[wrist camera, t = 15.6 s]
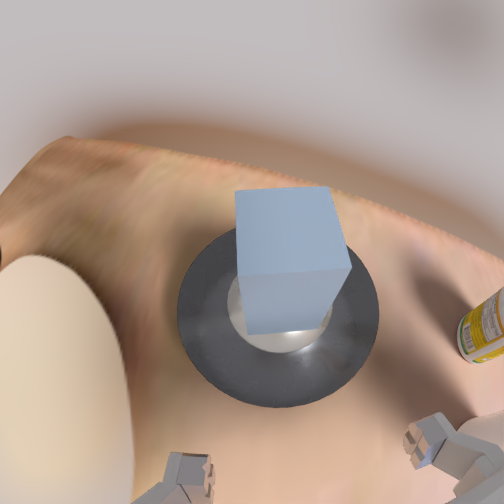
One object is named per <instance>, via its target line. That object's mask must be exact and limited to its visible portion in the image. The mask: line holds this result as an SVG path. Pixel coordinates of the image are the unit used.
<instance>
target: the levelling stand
mask: <svg viewBox="0 0 504 504" xmlns="http://www.w3.org/2000/svg"><path fill="white" fill-rule="evenodd" d="M346 246H347V245H346ZM347 250H348V254H349V258H350V261H351V265H352V269H351V270H350V272H349V274H348V276H347V278H346V280H345V282H344V283H343V285H342V287H341V289H340V291H339V293H338V294H337V296H336V298H335V300H334V301H333V303H332V305H331V307H330V308H329V310H328V312H327V314H326V315H325V317H324V319H323V320H322V322H321V324H320V325H319V327H318V329H314V330H304V331H294V332H284V333H272V334H258V335H248V332H247V327H246V321H245V316H244V310H243V304H242V298H241V293H240V287H239V281H238V271H237V243H236V228H235V229H233V230H231V231H229V232H227V233H225V234H223V235H222V236H220V237H219V238H217V239H216V240H214V241H213V242H212V243H211V244H209V245H208V246H207V247H206V248H205V249H204V250H203V251H202V252H201V253H200V254H199V255H198V257H197V258H196V259H195V260H194V262H193V263H192V265H191V266H190V268H189V270H188V272H187V273H186V276H185V278H184V280H183V283H182V285H181V289H180V293H179V298H178V306H177V321H178V327H179V333H180V336H181V339H182V343H183V346H184V348H185V350H186V352H187V354H188V356H189V358H190V359H191V361H192V362H193V364H194V365H195V367H196V368H197V370H198V371H199V372H200V373H201V374H202V375H203V376H204V377H205V378H206V379H207V380H208V381H209V382H210V383H211V384H213V385H214V386H215V387H217V388H218V389H219V390H221V391H223V392H224V393H226V394H228V395H229V396H231V397H233V398H235V399H238V400H240V401H243V402H245V403H248V404H252V405H256V406H260V407H269V408H288V407H294V406H300V405H305V404H308V403H311V402H314V401H317V400H320V399H322V398H324V397H326V396H328V395H330V394H332V393H334V392H335V391H337V390H338V389H339V388H341V387H342V386H344V385H345V384H346V383H347V382H348V381H349V380H350V379H351V378H352V377H353V376H354V375H355V374H356V373H357V372H358V371H359V369H360V368H361V367H362V366H363V364H364V363H365V361H366V359H367V357H368V356H369V354H370V352H371V349H372V347H373V344H374V342H375V338H376V334H377V330H378V322H379V305H378V299H377V294H376V290H375V287H374V284H373V281H372V279H371V277H370V275H369V273H368V271H367V269H366V267H365V266H364V264H363V263H362V261H361V260H360V259H359V258H358V256H357V255H356V254H355V253H354V252H353V251H352V250H351V249H350V248H349V247H348V246H347Z"/></svg>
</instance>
